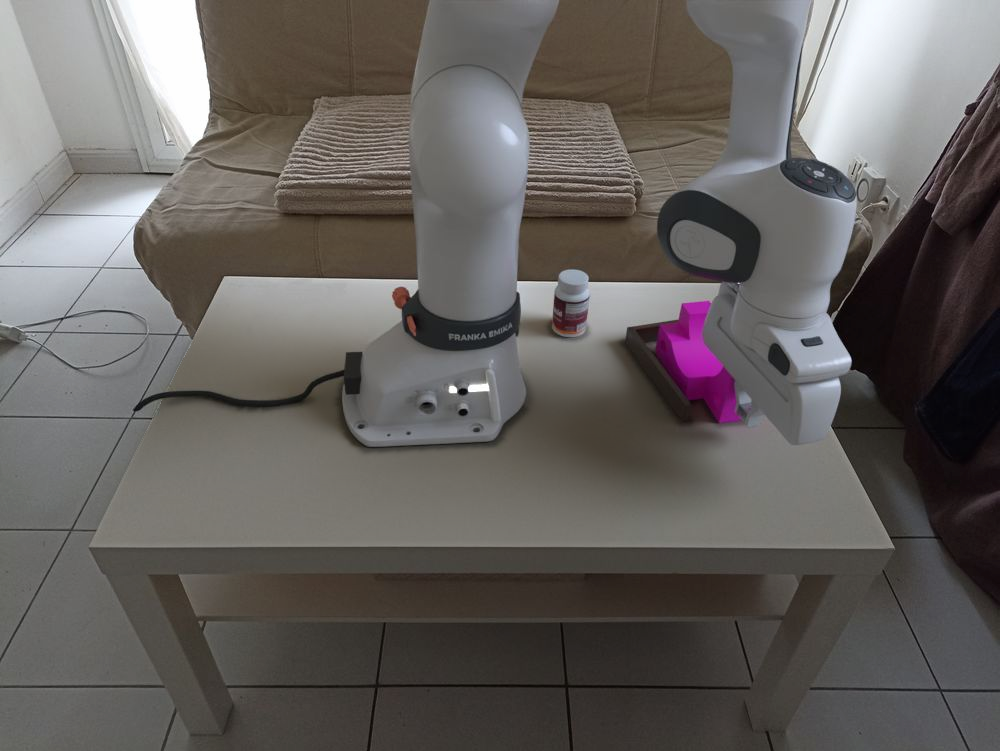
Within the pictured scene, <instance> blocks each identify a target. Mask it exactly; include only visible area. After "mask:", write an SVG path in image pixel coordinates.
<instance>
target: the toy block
mask: <svg viewBox="0 0 1000 751" xmlns="http://www.w3.org/2000/svg"><path fill="white" fill-rule="evenodd" d="M711 303H712V302H711V301H710V300H702V301H700V300H699V301H691V302H681V304H680V311H679V314H678V319H679V320H678V319H677V320H678V323H669V324H660V327H659V332H658V338H657V341H656V344H655V350H654V353H655V355H656V356H657V357H656V358H657V359H658V361H659V362H660V364H661V365H662V366H663V368H664V369H665V370H666V372H667V373H668V374H669V375H670V377H671V378H672V379H673V381H674V382H675V383H676V385H677V386H678V387H679V389H680V390H681V391H682V393H683V394H684V395H685V397H686V398H687V399H688V401H695V400H702V399H703V400H704V402H705V403H706V405H707V407H708V408H709V409H710V411H711V413H712V415H713V416H714V417H715V419H716V421H717V423H718V424H724V423H731V422H732V423H733V422H741V421H742V420H741V419H740V417H739V416H738V415H737V414H736V413H735V407H736V403H737V401H736V394H735V387H734V383H735V379H734V378H733V377H732V376H731V375H730V373H729V372H728V371H727V370H726V369H725V368H724V366H723V365H722V364H721V363H720V362H719V361H718V359H717V358H716V357H715V356H714V355H713V354H712V352H711V351H710V350H709V349H708V348H707V347H706V345H705V344H704V342H703V337H702V330H703V326H704V323H705V319H706V316H707V313H708V311H709V308H710V305H711Z"/></svg>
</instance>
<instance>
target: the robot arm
mask: <svg viewBox="0 0 1000 751" xmlns="http://www.w3.org/2000/svg"><path fill="white" fill-rule="evenodd" d="M559 3H560V0H429V2H428V5H427V10H426V16H425V20H424V25H423V29H422V33H421V39H420V44H419V49H418V54H417V59H416V64H415V69H414V73H413V79H412V83H411V88H410V95H409V96H410V97H409V98H410V99H409V119H408V120H409V122H408V156H409V158H408V159H409V173H410V185H411V200H412V210H413V211H412V212H413V220H414V221H413V223H414V235H415V251H416V271H417V289H416V291H415V293H414V294H413V295H412V296H411V294H410V291H409V290H408V289H407V287H405V286H398V287H395V288H394V289H393V291H392V292H391V293H392V294H391V297H392V300H393V304H394V306H395V307H396V308H397V309H399V310H401V320H400V321H399V322H397V323H396V324H395V325H394V326H392V327H391V328H389V329H388V330H386V331H385V332H383V333H382V334H380V335H379V336H378V337H377V338H375V339H373V340H372V341H370V342H369V343H368V344H367V345H366V347H365V349H364V350H363V351H346V352H345V358H344V369H342V370H337V371H335V372H331V373H328V374H324V375H322V376H319V377H318V378H316V379H314V380H312V381H311V382H310V383H309V384H308V386H307V387H306V388H305V390H304V391H303V392H302V393H300V394H298V395H295V396H291V397H288V398H283V399H273V400H271V399H269V400H263V399H262V400H261V399H260V400H259V399H256V400H255V399H241V398H235V397H231V396H228V395H225V394H222V393H218V392H213V391H210V390H171V391H164V392H159V393H155V394H152V395H149V396H147V397H146V398H144V399H142V400H141V401H139V402H138V403H137V404H136V405H134V407H133V409H132V412H139V411H141V410H142V409H143V408H145V407H146V406H147V405H149V404H151V403H153V402H156V401H158V400H162V399H168V398H184V397H186V398H187V397H188V398H189V397H204V398H211V399H214V400H218V401H221V402H224V403H228V404H230V405H235V406H246V407H279V406H285V405H290V404H295V403H297V402H300V401H303V400H305V399H306V398H307V397H308V396H310V395H311V393H312V391H314V388H316V387H317V386H318V385H321V384H323V383H325V382H328V381H332V380H334V379H338V378H339V379H340V378H341V377H343V385H342V390H341V391H342V392H341V404H342V412H343V416H344V420H345V422H346V425H347V428H348V429H349V431H350V433H351V434H352V435H353V437H354V438H355V439H356V440H357V441H358V442H360V443H361V444H362V445H364V446H365V447H369V448H373V447H374V448H378V447H380V448H381V447H382V448H383V447H401V446H402V447H403V446H422V445H424V446H425V445H444V444H445V445H447V444H466V443H486V442H487V443H488V442H491V441H493V440H495V439H497V437H498V436H499V434H500V433H501V430H502V428H503V426H504V424H505V423H506V422H508V421H509V420H511V418H512V417H514V416H515V415H516V414H517V413H518V412H519V411H520V410H521V408H523V405H524V403H525V401H526V397H527V388H526V383H525V381H524V378H523V375H522V371H521V366H520V360H519V350H518V340H517V338H518V337H519V335H520V326H521V319H522V304H521V293H520V292H519V291H518V271H519V270H518V269H519V268H518V267H519V244H520V241H519V240H520V230H521V223H522V219H523V212H524V205H525V198H526V193H527V192H526V191H527V182H528V173H529V164H530V150H531V138H530V131H529V127H528V125H527V122H526V119H525V116H524V112H523V98H524V91H525V86H526V83H527V80H528V78H529V74H530V72H531V69H532V67H533V63H534V61H535V58H536V56H537V53H538V51H539V49H540V46H541V44H542V42H543V39H544V37H545V35H546V33H547V30H548V28H549V26H550V25H551V24H552V22H553V20H554V18H555V16H556V14H557V10H558V8H559ZM811 4H812V0H685V7H686V12H687V14H688V15H689V17H690V19H691V21H692V23H693V24H694V25H695V27H696V28H697V29H698V30H699V31H700V32H701V33H702V34H703V35H704V37H707V39H709V40H710V41H712V42H714V43H715V44H717V45H719V46H721V47H722V48H724V50H725V51H726V52H727V54H728V56H729V60H730V63H731V68H732V83H731V94H730V106H729V121H728V131H727V138H726V139H727V140H726V143H725V146H724V147H723V150H722V152H721V153H720V155H719V156H718V158H717V159H716V161H715V162H714V163H713V164H712V166H711V167H710V168H709V169H707V170H706V171H704V172H703V173H702V174H701V175H699V176H697V177H695V178H694V179H692V180H690V181H689V182H688V183H686V184H685V185H684V186H682V187H680V188H679V189H678V190H677V191H675V192H674V193H673V194H672V195H670V197H668V198H667V199H666V200H665V202H664V203H663V204H662V206H661V208H660V210H659V212H658V215H657V219H656V220H657V221H656V232H657V238H658V242H659V245H660V248H661V250H662V252H663V254H664V256H665V257H666V258H667V260H668V261H669V262H670V263H671V264H673V266H674V267H676V268H677V269H679V270H680V271H682V272H684V273H686V274H688V275H691V276H695V277H700V278H703V279H707V280H712V281H717V282H721V283H720V285H719V289H718V293H717V295H716V296H715V297H714V298H713V299H712V301H711V302H710V303H711V305H710V308H709V311H708V313H707V316H706V319H705V323H704V326H703V330H702V337H703V342H704V344H705V345H706V347H707V348H708V349H709V350H710V351H711V352H712V354H713V355H714V356H715V357H716V358H717V359H718V361H719V362H720V363H721V364H722V365H723V366H724V368H725V369H726V370H727V371H728V372H729V373H730V375H731V376H732V377H733V378H734V379H735V383H734V387H735V394H736V401H737V403H736V407H735V413H736V414H737V415H738V416H739V417H740V419H741V420H740V421H741V422H742V423H743V424H744V425H745V427H746V428H748V429H751V428H756V427H759V426H760V425H761V423H762V420H763V417H764V416H765V417H766V419H768V421H770V423H771V424H772V425H773V426H774V427H775V429H776V430H777V431H778V432H779V433H780V435H781V436H782V437H783V438H784V439H785V440H786V442H787V443H788V444H789V445H790V446H801V445H802V446H803V445H809V444H812V443H816V442H819V441H821V440H823V439H825V438H826V436H827V435H828V433H829V431H830V428H831V426H832V423H833V422H834V418H835V416H836V413H837V409H838V406H839V403H840V399H841V393H842V385H841V384H842V383H841V380H840V378H839V377H841V376H844V375H847V374H848V373H849V371H850V370H851V367H852V362H853V361H852V357H851V355H850V353H849V352H848V349H847V348H846V347H845V345H844V343H843V342H842V340H841V338H840V337H839V335H838V332H837V331H836V329H835V327H834V324H833V321H832V318H831V316H830V315H829V313H827V312H828V309H829V307H830V306H829V305H830V303H831V286H832V284H833V281H834V280H835V278H836V277H837V276H838V275H839V273H840V272H841V270H842V268H843V264H844V261H845V259H846V256H847V252H848V249H849V246H850V242H851V238H852V236H853V235H852V234H853V230H854V228H855V227H854V226H855V221H856V216H857V208H858V196H857V192H856V188H855V186H854V184H853V182H852V181H851V180H850V178H848V177H847V176H846V175H845V174H844V172H842V171H841V170H839V169H838V168H836V167H834V166H833V165H831V164H829V163H826V162H824V161H821V160H817V159H815V158H806V157H793V156H792V146H791V145H792V142H791V141H792V132H793V131H792V130H793V123H794V116H795V109H796V102H797V95H798V88H799V87H798V86H799V80H800V72H801V64H802V57H803V48H804V38H805V34H806V29H807V24H808V19H809V12H810V8H811Z"/></svg>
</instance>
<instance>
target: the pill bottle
mask: <svg viewBox="0 0 1000 751" xmlns="http://www.w3.org/2000/svg"><path fill="white" fill-rule="evenodd" d="M589 280H590V278H589V275H588V274H587V273H586V272H584V271H583V270H579V269H572V268H571V269H570V268H569V269H565V270H562V271H561V272H560V273H559V274H558V279H557V285H556V286H555V288H554V294H553V306H552V318H551V319H552V320H551V329H552V330H553V332H554V333H555V334H557V335H558V336H560V337H564V338H577V337H580V336H582V335H583V334H584V333H586V329H587V323H588V322H587V321H588V314H589V305H590V298H591V291H590V288H589Z"/></svg>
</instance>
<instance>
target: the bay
mask: <svg viewBox="0 0 1000 751" xmlns="http://www.w3.org/2000/svg"><path fill="white" fill-rule="evenodd" d="M678 320H679V318H678V319H673V320H672V319H671V320H666V321H659V322H652V323H647V324H646V323H645V324H640V325H633V326H627V327H626V334H625V338H624V343H625V344H626V346H627V347H628V349H629V350H630V351H631V352H632V354H633V355H634V357H635V358H636V360H637V361H638V362H639V364H640V365H641V366H642V368H643V369H644V371H645V372H646V374H647V375H648V376H649V377H650V379H651V381H653V383H654V384H655V386H656V387H657V389H658V390H659V391H660V392H661V394H662V395H663V397H664V398H665V399H666V401H667V402H668V404H669V405H670V406H671V408H672V409H673V411H674V412H675V413H676V415H677V416H678V418H679V419H680V420H681V422H687V421H689V418H690V414H691V411H692V403H691V402H690V400H688V399H687V398H686V397H685V395H684V394H683V393H682V391H681V390H680V389H679V387H678V386H677V385H676V383H675V382H674V381H673V379H672V378H671V377H670V375H669V374H668V373H667V371H666V370H665V368H664V366H663V365H662V363H661V361H660V360H659V359H658V357H656V356H655V354H654V353H653V352H652V350H651V348H649V346H648V345H647V343H651V342H657V338H658V332H659V327H660V324H669V323H678Z"/></svg>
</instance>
